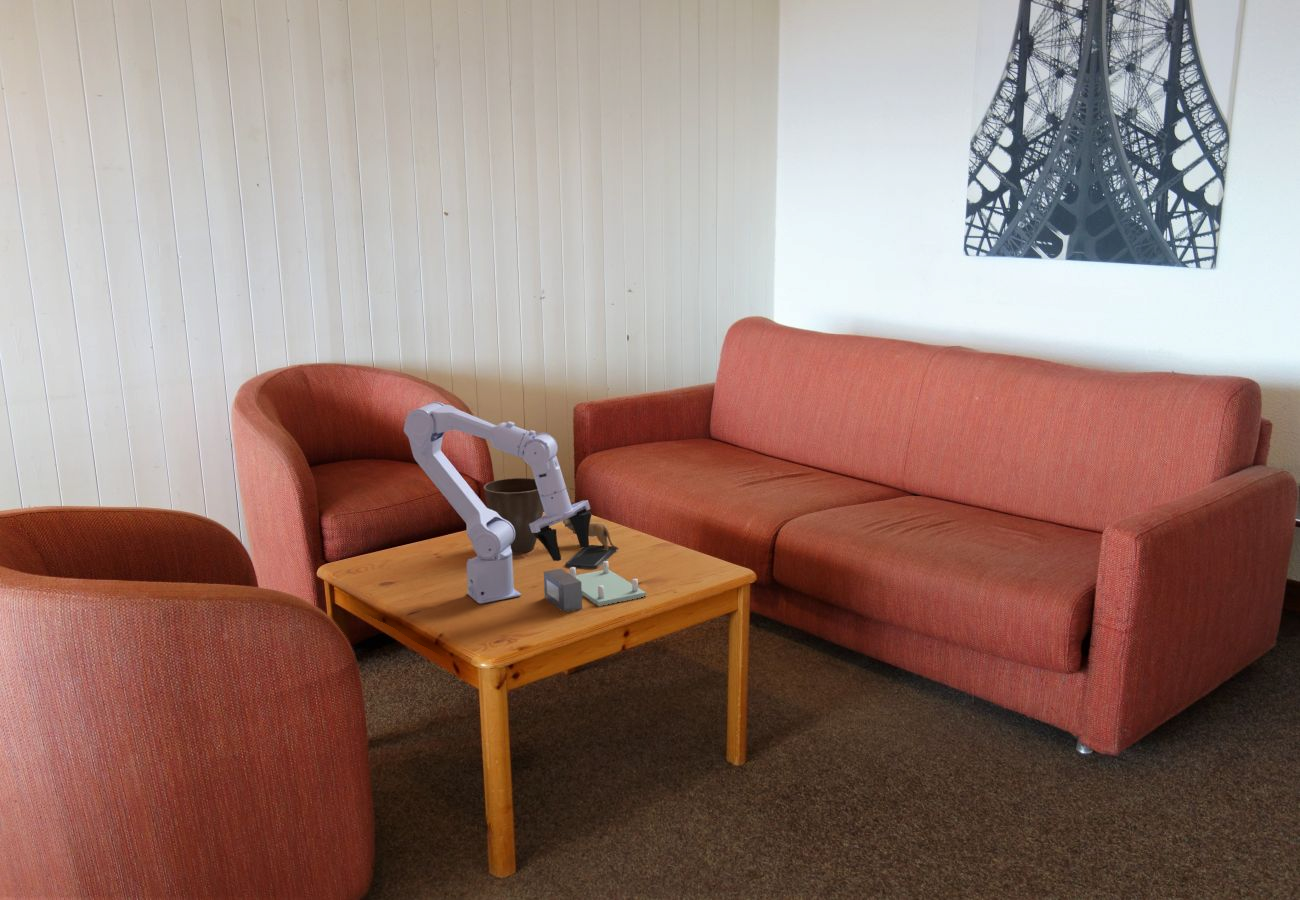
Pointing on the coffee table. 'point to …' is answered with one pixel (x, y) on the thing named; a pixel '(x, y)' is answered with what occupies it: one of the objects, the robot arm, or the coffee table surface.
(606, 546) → the lion figurine
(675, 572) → the coffee table surface
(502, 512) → the plant pot
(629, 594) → the pin tray
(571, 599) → the block
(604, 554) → the phone
